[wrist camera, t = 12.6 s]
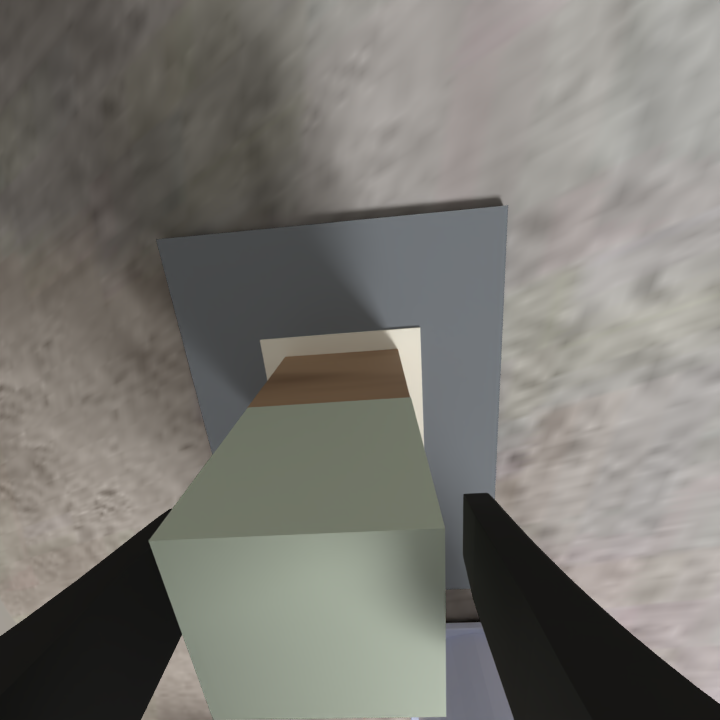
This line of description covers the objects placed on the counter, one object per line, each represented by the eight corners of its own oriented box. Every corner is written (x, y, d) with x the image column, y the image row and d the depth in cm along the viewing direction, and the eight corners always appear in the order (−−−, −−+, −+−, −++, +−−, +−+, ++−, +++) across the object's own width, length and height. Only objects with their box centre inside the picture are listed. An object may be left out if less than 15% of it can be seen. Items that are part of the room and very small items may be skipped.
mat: (488, 581, 20) (491, 589, 19) (251, 589, 21) (249, 598, 20) (504, 206, 14) (508, 205, 13) (161, 239, 14) (154, 239, 14)
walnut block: (402, 447, 17) (415, 528, 12) (300, 453, 17) (273, 534, 12) (397, 348, 15) (410, 397, 10) (285, 356, 15) (246, 407, 11)
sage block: (416, 528, 12) (446, 717, 7) (274, 534, 12) (213, 720, 7) (410, 397, 10) (444, 528, 6) (247, 407, 11) (148, 540, 6)
